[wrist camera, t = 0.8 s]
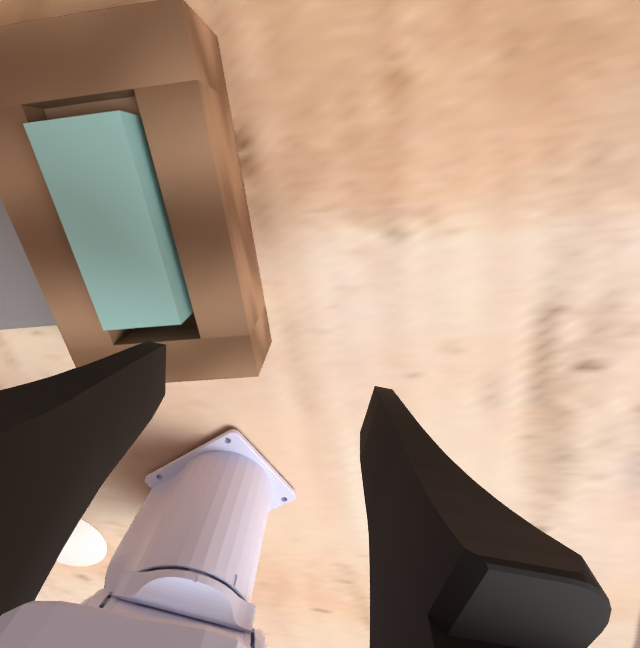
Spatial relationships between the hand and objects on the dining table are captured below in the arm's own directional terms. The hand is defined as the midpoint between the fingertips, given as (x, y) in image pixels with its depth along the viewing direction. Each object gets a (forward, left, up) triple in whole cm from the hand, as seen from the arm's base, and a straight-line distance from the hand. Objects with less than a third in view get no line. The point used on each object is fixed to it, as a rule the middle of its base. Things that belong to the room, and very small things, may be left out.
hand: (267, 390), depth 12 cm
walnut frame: (-4, +7, -10) cm, 13 cm away
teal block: (-4, +8, -7) cm, 11 cm away
